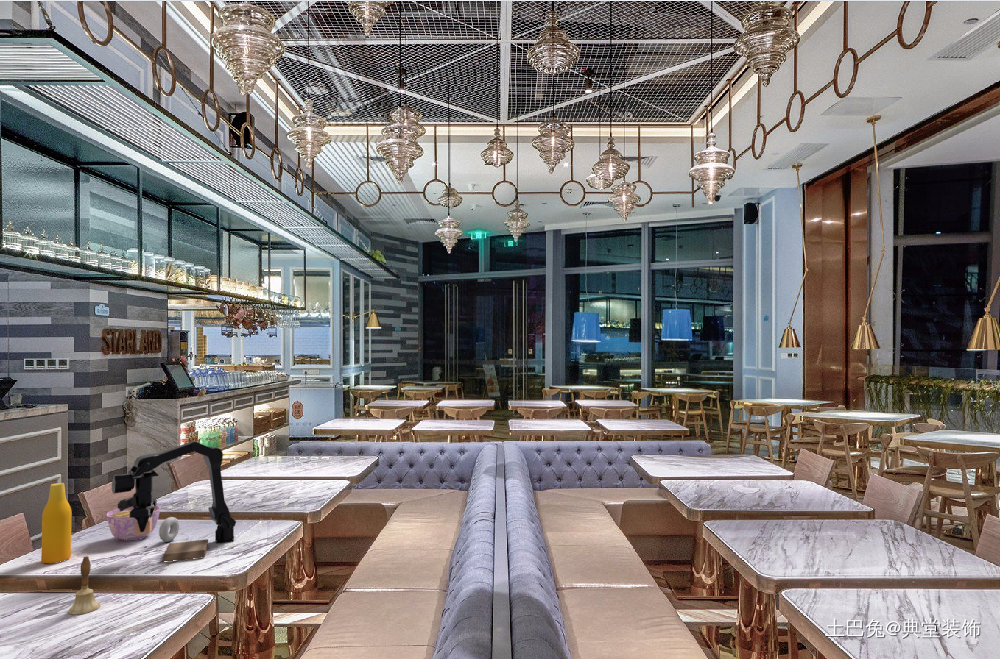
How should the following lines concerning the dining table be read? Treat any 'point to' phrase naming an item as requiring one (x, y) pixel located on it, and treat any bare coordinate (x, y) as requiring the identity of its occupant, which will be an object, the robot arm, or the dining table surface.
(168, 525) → the donut
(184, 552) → the walnut base
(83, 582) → the hand bell
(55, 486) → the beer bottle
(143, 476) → the robot arm
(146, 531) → the terracotta block
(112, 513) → the bowl of food
